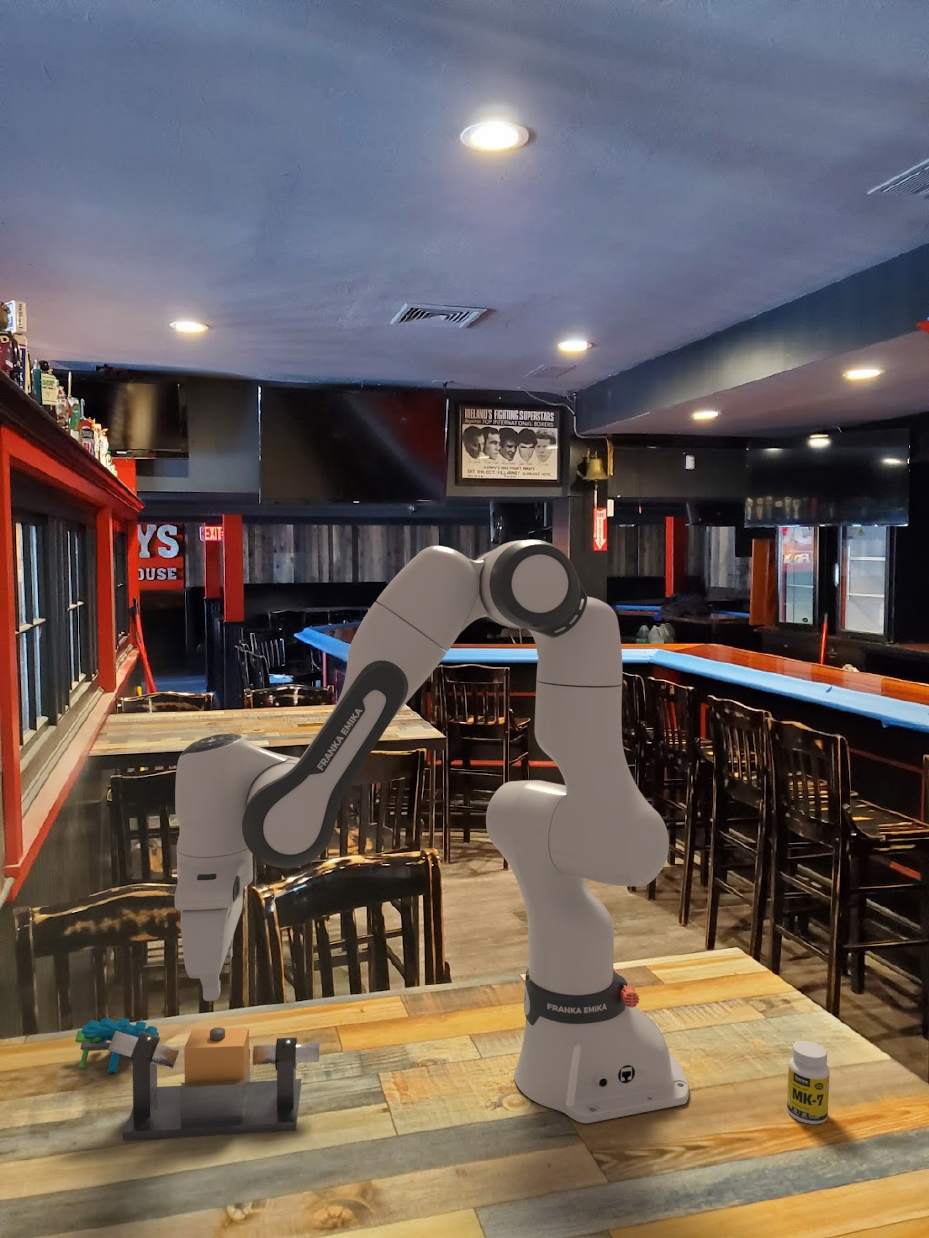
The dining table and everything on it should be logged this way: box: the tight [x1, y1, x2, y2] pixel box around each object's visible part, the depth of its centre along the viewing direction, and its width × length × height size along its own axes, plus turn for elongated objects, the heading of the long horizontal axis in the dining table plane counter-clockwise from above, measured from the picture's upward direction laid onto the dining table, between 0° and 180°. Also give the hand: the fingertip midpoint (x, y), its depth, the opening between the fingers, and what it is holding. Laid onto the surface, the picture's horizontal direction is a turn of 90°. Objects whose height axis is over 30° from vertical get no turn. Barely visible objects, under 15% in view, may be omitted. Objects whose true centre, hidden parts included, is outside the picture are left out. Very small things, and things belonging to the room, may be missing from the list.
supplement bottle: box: [786, 1040, 831, 1125], centre depth 111 cm, size 5×5×8 cm
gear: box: [74, 1017, 160, 1074], centre depth 120 cm, size 11×6×10 cm
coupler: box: [183, 1026, 250, 1086], centre depth 110 cm, size 7×4×6 cm, turn 96°
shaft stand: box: [107, 1031, 321, 1141], centre depth 110 cm, size 25×9×11 cm, turn 97°
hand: (218, 978), depth 109 cm, fingers open, 8 cm apart
